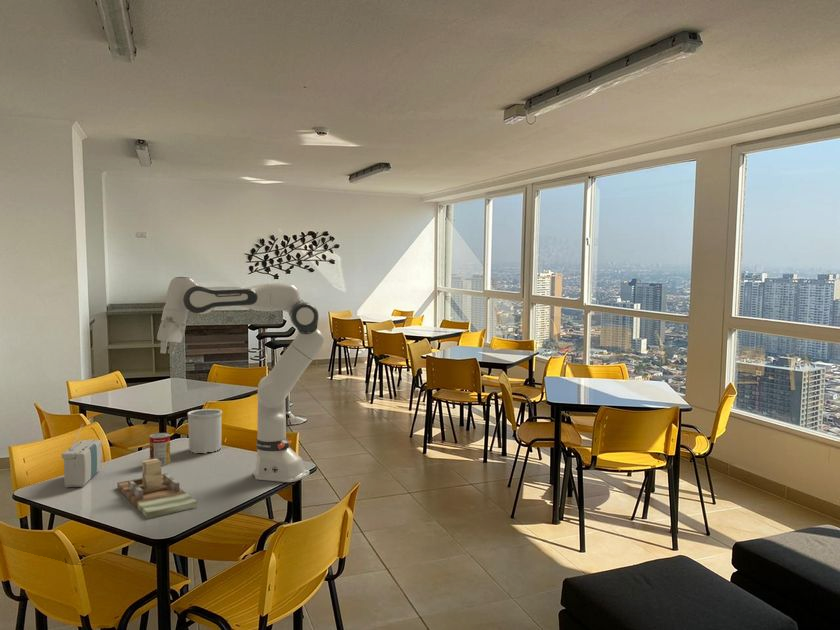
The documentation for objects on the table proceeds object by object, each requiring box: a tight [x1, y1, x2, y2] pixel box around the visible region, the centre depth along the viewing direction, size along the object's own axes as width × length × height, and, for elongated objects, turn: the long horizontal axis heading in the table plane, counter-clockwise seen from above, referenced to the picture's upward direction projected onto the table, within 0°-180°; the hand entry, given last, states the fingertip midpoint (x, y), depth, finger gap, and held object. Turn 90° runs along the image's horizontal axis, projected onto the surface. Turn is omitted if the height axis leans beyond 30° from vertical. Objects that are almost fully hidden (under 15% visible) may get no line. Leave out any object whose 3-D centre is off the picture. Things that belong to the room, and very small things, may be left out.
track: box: [116, 472, 198, 519], centre depth 214 cm, size 37×16×5 cm, turn 40°
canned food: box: [149, 432, 171, 467], centre depth 254 cm, size 8×8×12 cm
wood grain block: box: [138, 459, 167, 493], centre depth 217 cm, size 8×8×10 cm
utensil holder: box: [187, 408, 223, 454], centre depth 275 cm, size 15×15×18 cm
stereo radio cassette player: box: [61, 423, 103, 488], centre depth 232 cm, size 21×8×20 cm, turn 12°
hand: (166, 353), depth 230 cm, fingers open, 8 cm apart
